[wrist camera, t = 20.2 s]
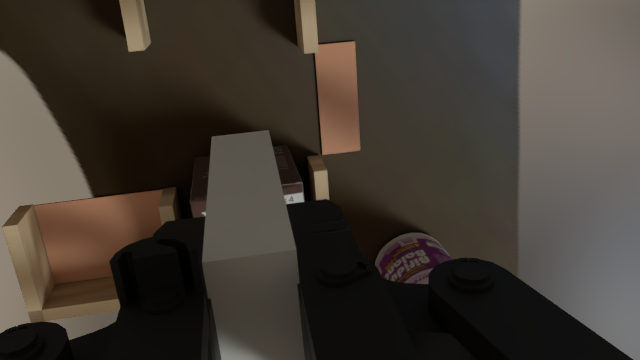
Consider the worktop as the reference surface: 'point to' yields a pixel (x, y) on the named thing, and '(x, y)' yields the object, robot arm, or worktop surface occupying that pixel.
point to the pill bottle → (410, 258)
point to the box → (286, 171)
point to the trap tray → (154, 193)
